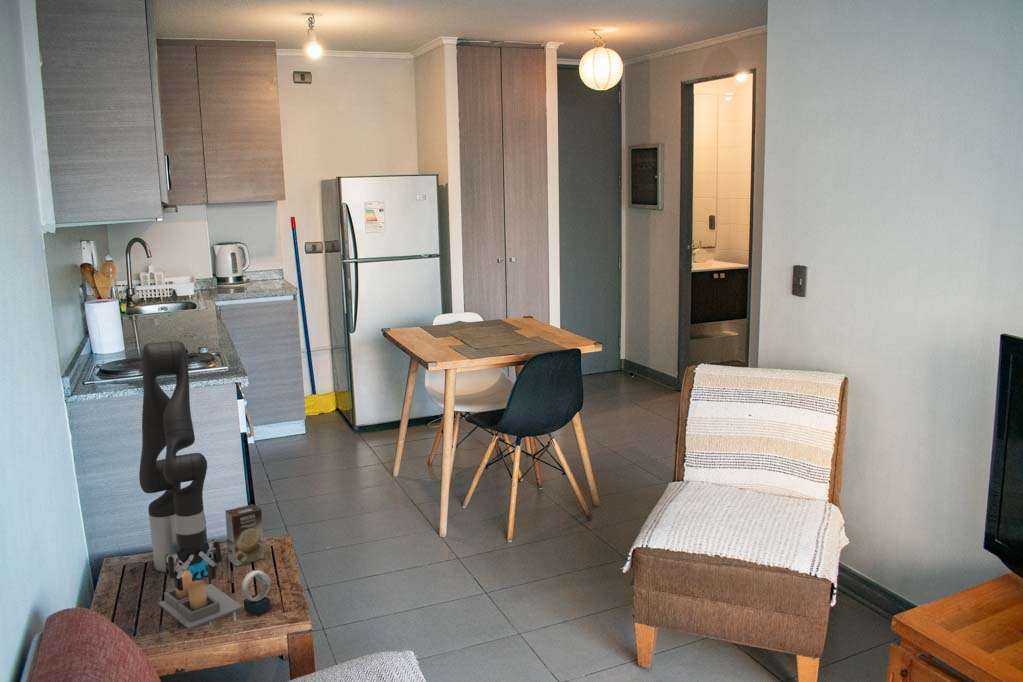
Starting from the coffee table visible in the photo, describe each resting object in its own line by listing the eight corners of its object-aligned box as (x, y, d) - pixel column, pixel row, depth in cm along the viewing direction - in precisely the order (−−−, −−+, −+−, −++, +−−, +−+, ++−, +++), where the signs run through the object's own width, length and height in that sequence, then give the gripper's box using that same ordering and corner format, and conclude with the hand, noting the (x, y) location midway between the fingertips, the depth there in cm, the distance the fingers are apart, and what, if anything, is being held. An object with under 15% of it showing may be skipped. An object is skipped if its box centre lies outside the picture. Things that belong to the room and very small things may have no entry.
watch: (276, 606, 228) (273, 568, 226) (252, 619, 221) (249, 580, 219) (262, 600, 231) (259, 563, 229) (238, 613, 224) (235, 575, 222)
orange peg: (187, 611, 224) (185, 584, 223) (203, 605, 227) (201, 578, 226) (194, 617, 221) (192, 589, 220) (210, 611, 224) (208, 583, 223)
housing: (158, 604, 230) (155, 575, 228) (211, 585, 240) (208, 557, 238) (188, 629, 217) (186, 599, 215) (242, 608, 227) (240, 579, 225)
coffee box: (236, 567, 251) (232, 516, 248) (228, 560, 256) (223, 510, 253) (265, 558, 257) (261, 509, 254) (256, 551, 262) (253, 503, 259)
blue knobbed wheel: (181, 580, 240) (176, 548, 245) (176, 588, 244) (171, 557, 249) (220, 574, 247) (214, 543, 252) (215, 582, 251) (208, 551, 256)
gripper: (210, 515, 227) (214, 570, 231) (157, 531, 217) (163, 588, 221) (223, 523, 222) (227, 579, 225) (169, 540, 212) (175, 598, 216)
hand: (195, 584), depth 223 cm, fingers open, 8 cm apart
